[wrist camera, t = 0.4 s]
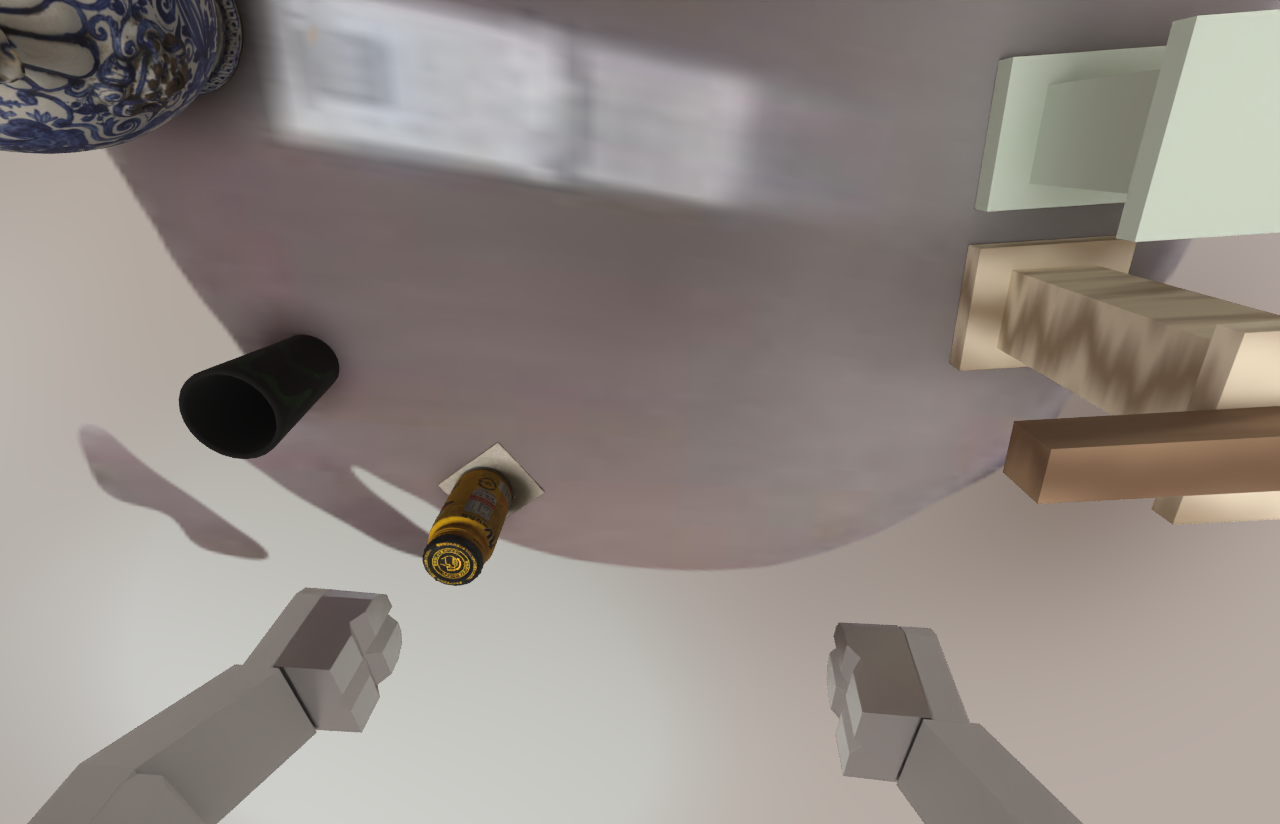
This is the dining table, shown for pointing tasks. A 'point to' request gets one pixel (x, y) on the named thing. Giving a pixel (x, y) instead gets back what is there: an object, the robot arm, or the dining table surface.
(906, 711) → the robot arm
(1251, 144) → the pedestal low
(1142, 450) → the mallet
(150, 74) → the decorative vase
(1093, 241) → the pedestal tall
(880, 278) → the dining table surface
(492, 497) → the condiment
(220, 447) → the cup
